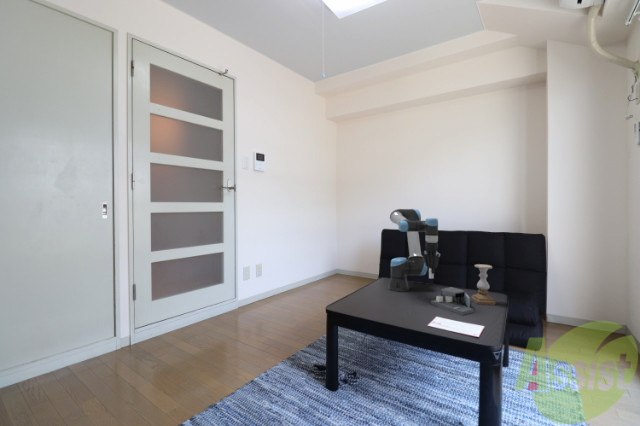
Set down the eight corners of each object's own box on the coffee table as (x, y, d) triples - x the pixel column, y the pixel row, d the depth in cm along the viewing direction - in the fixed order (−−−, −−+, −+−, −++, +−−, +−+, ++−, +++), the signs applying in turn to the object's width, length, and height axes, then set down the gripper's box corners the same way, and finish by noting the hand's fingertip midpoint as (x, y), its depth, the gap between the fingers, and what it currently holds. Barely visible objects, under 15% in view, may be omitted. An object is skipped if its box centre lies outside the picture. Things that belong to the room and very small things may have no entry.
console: (430, 304, 183) (430, 300, 183) (441, 301, 188) (441, 298, 188) (462, 315, 164) (462, 311, 164) (473, 312, 169) (473, 308, 169)
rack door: (467, 307, 175) (467, 296, 175) (464, 302, 185) (464, 292, 185) (472, 308, 175) (472, 297, 175) (469, 303, 184) (469, 292, 184)
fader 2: (445, 301, 181) (445, 296, 181) (448, 300, 183) (448, 295, 183) (448, 302, 179) (448, 297, 179) (452, 301, 180) (452, 296, 180)
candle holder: (487, 299, 193) (488, 264, 193) (496, 305, 182) (496, 267, 182) (470, 299, 194) (471, 263, 194) (477, 304, 183) (478, 267, 183)
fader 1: (436, 301, 181) (436, 296, 181) (439, 300, 183) (439, 295, 183) (439, 302, 179) (439, 297, 179) (442, 301, 181) (442, 296, 181)
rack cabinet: (441, 301, 189) (441, 288, 189) (451, 298, 194) (451, 287, 194) (454, 305, 180) (454, 292, 180) (464, 303, 185) (464, 290, 185)
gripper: (419, 241, 190) (419, 276, 190) (436, 243, 179) (435, 280, 179) (427, 240, 194) (427, 275, 194) (444, 242, 182) (443, 279, 182)
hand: (431, 278), depth 186 cm, fingers closed
